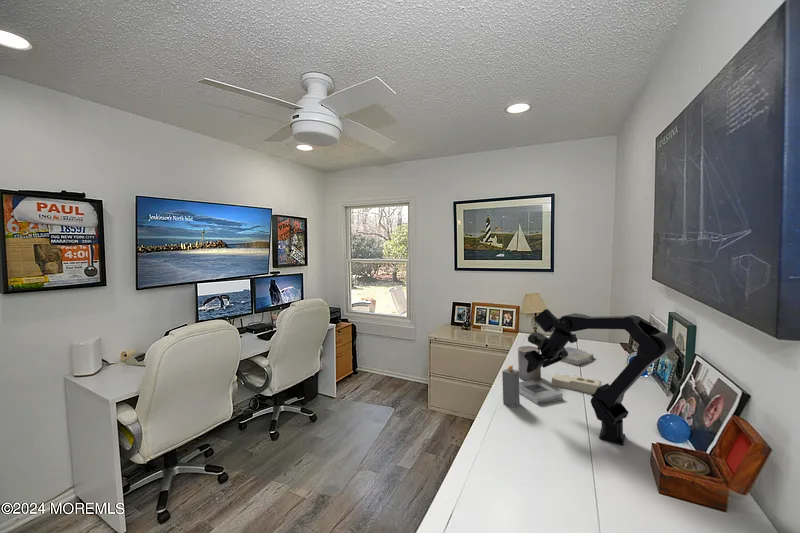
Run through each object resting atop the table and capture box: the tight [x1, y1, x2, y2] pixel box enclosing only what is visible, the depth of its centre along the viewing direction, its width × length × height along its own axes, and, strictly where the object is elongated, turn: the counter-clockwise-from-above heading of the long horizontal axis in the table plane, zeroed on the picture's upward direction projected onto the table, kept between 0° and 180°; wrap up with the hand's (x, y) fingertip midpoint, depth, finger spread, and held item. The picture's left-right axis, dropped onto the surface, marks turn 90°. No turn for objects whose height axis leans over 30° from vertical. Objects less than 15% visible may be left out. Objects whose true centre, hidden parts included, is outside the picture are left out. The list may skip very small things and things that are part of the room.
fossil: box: [560, 346, 596, 366], centre depth 180 cm, size 20×5×17 cm
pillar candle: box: [517, 345, 542, 382], centre depth 155 cm, size 10×10×15 cm
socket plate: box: [519, 379, 564, 406], centre depth 138 cm, size 16×12×2 cm
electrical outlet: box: [551, 373, 603, 395], centre depth 143 cm, size 7×4×18 cm
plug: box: [501, 364, 521, 408], centre depth 130 cm, size 4×4×15 cm
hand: (535, 369), depth 128 cm, fingers open, 9 cm apart
